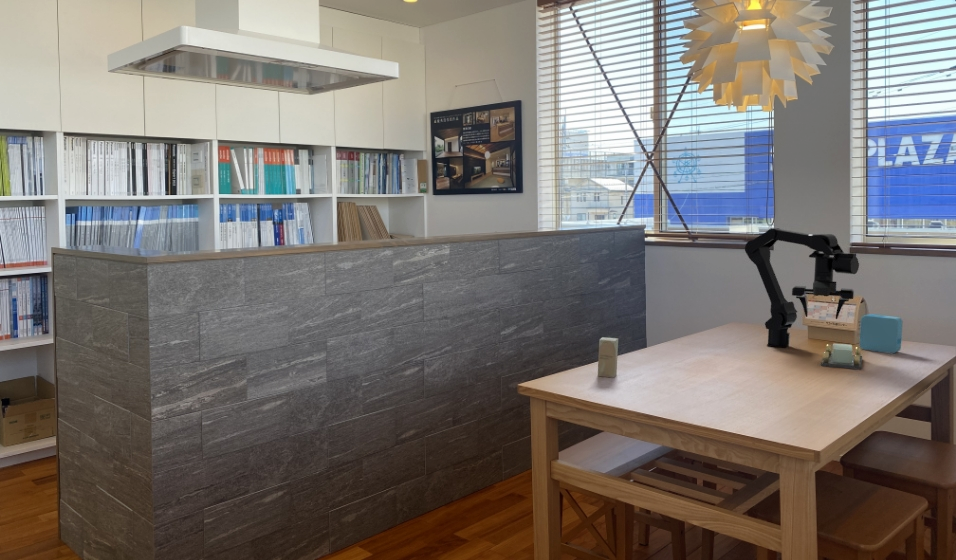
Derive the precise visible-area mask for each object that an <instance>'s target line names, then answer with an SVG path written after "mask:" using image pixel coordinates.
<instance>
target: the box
mask: <svg viewBox="0 0 956 560" xmlns="http://www.w3.org/2000/svg"><path fill="white" fill-rule="evenodd" d="M598 344H599V345H598V363H597V364H598V365H597V376H598V377H605V378H615V377H616V376H617V374H618V352H619V351H618V349H619V338H615V337H606V336H605V337H604V336H602V337H601V338H599V342H598Z"/></svg>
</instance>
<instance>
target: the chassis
mask: <svg viewBox="0 0 956 560" xmlns="http://www.w3.org/2000/svg"><path fill="white" fill-rule="evenodd" d="M832 351H833V344H826V347H825V351H823V353H822V355H823V356H822V361H821V362H820V365H821V366H822V367H831V368H839V369H840V368H842V369H851V370H859V371H860V370H861V367H862V361H863V356H862V348H861V347H860V346H856V347H855V354H853V357H852V363H843V362H833V357H832V354H833V352H832Z"/></svg>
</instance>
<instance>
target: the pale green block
mask: <svg viewBox="0 0 956 560" xmlns="http://www.w3.org/2000/svg"><path fill="white" fill-rule="evenodd" d="M832 353H833V354H832V357H833V362H843V363H852V357H853V355H854V354H853V353H854V349H853V345H852V344H846V343H832Z"/></svg>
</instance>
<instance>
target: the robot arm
mask: <svg viewBox="0 0 956 560" xmlns="http://www.w3.org/2000/svg"><path fill="white" fill-rule="evenodd" d="M779 241H780V242H786V243H791V244H796V245H801V246H802V245H803V246H805V247H807V248H809V249H811V250H813V252H812V253H811V254H808V258H811V259H812V258H813V259H814V277H813V278H814V279H813V282H812V288H807V286H803V285H794V286H793V288H792V289H791V296H793V297H794V296H795V298H796V299H799V301H800V303H801V305H802V307H803V308H802V309H803V311H804V315H805V317H806V318H807V317H808V313H809V311H808V295H813V296H816V297H817V296H818V297H819V296H822V297H823V296H824V297H829V296H832V297H833V296H835V297H839V299H838V303H837V308H836V313H835V319H836V320H838V317H839V315H840V312H841V309H842V308H843V306H844V304H845V302H849V301H850V300H854V298H855V297H854V296H855V291H854V289H853V288H840V290H837V281H834V272H835V273H837V274H846V275H847V274H848V275H855V274H857V273H858V272H859V267H860V262H859V258H858V257H857V253H855V252H850V253H847V252H844V250H843V249H842V247H841V245H839V243H838V239H837V237H836V235H834V234H831V233H817V234H816V233H814V234H813V233H812V234H811V233H804V232H799V231H792V230H787V229H781V228H780V227H774V228H773V227H772V228H769V229H768V230H766V231H765V232H764V233H762V234H760V235H759V236H757V237H755V238H754V239H751V240H748V241H747V242H746V243H745V246H744V251H745V253H746V256H747V257H748V259H749V261H751V262H752V263H753V264H754V265H755V267H756V268H757V271H758V274H759V276H760V278H761V281H762V283H763V286H764V290H765V292H766V294H767V296H768V298H769V301H770V308H769V309H770V316H771V317H770V318H768V320H766V321H765V322H764V325H765V329H766V330H768V331H767V332H768V333H767V344H766V346H767V347H773V348H775V347H776V348H785V349H786V348H788V346H789V345H790V339H791V338H790V337H791V336H790V335H791V332H789V329H791V328H792V325H793V324H794V323H795V322H796V320H797V318H798V315H797V313H798V310H797V309H796V307H795V303H794V302H793V301H788V300H787V299H786V298H785V296H784V293H783V291H782V288H781V286H780V284H779V281H778V278H777V276H776V274H775V270H774V268H773V266H772V263H771V250H770V249H771V248H772V247H773V246H775V244H776V243H777V242H779Z"/></svg>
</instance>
